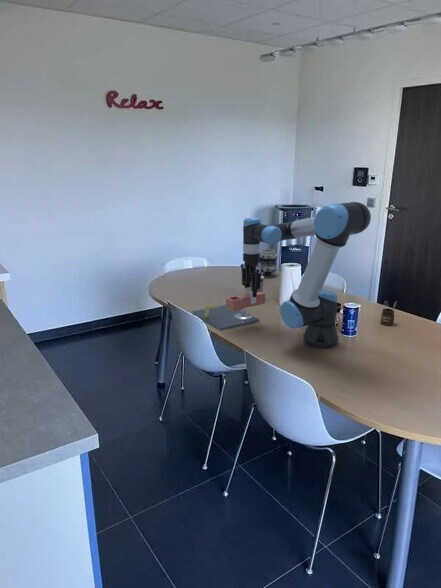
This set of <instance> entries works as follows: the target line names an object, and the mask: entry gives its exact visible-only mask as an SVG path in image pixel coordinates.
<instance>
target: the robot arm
mask: <svg viewBox="0 0 441 588" xmlns="http://www.w3.org/2000/svg"><path fill="white" fill-rule="evenodd" d="M371 219H372V214H371V212H370V209H369V208H368V207H367V205H366V204H364V203H362V202H359V201H351V202H342V203H338V202H336V203H335V202H334V203H330V204H327V205H325V206H323V207H321V208H320V209H319V210H318V211H317V212H316V214H315V216H312V217H307V218H302V219H298V220H293V221H289V222H282V223H273V224H265V223H264V224H263V223H262V222H261V218H259V217H254V216H253V217H252V216H251V217H245V218H244V219H243V227H242V234H243V235H242V237H243V238H242V240H243V241H242V251H243V253H242V261H243V262H244V263H242V264H240V269H241V285H242V286H244V288H245V289H244V295H247V294H251V300H250V304H254V303H256V296H257V290H258V289H260V283H261V275H262V273H263V272H262V269H259V264H258V263H259V262H261V258H260V254H261V253H260V252H261V251H260V250H261V248H260V247H261V243H265V244H268V245H276V244H278V243H279V242H281V241H289V240H295V239H300V238H306V237H311V236H313V237H314V236H315V238H316V242H315V244H314V247H313V250H312V253H311V255H310V257H309V260H308V263H307V264H306V267H305V270H304V273H303V275H302V277H301V279H300V282H299V285H298V287H297V288H296V289H294V290H293V291H292V293H291V295H290V297H289V299H288V300H285V301H284V302H282V303H281V306H280V309H279V312H280V317H281V319H282V321H283V323H284V324H285V325H286V326H287V327H289V328H290V329H301V328H302V327H303V328H304V327H306V328H305V330H304V333H303V335H302V342H303V343H304V344H305V345H306V346H309V347H312V348H315V349H331V348H336V347H337V346H338V345H339V338H340V337H339V336H338V331H337V328H336V327H337V325H336V322H337V313H338V312H337V310H338V309H337V308H338V294H337V293H336V292H334V291H332V290H330V289H329V290H328V289H323V287H324V285H325V282H326V280H327V278H328V276H329V274H330V272H331V268H332V266H333V264H334V262H335V259H336V257H337V254H338V253H339V250H340V248H341V249H342V248H344V247H345V246H346V245H347V243H348V240H349V238H350V236H352V235H353V236H354V235H357V234H360V233H362V232H364V231H365V230H367V228H368V227H369V225H370V224H371ZM250 282H251V285H252V289H251V285H250Z"/></svg>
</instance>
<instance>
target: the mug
mask: <svg viewBox="0 0 441 588" xmlns="http://www.w3.org/2000/svg"><path fill="white" fill-rule="evenodd" d="M264 279H265V278H264V276H261V283H260V289H258V290H257V292H262V293H264V291H263V289H264ZM250 285H251V282H250ZM251 289H252V285H251Z"/></svg>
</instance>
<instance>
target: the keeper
mask: <svg viewBox="0 0 441 588" xmlns="http://www.w3.org/2000/svg"><path fill="white" fill-rule="evenodd" d="M203 305H204V309H205V319H209V309H212V308H219V306H220V305H219V302H217V301H216V302H204V303H203Z"/></svg>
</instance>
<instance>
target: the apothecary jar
mask: <svg viewBox="0 0 441 588" xmlns="http://www.w3.org/2000/svg"><path fill="white" fill-rule="evenodd" d="M276 259H278V254H277V253H276V250H275V249H273V248H264V249H261V253H260V265H258V268H259V269H262V273H263V274H261V276H264V279H274V278H276V275H275V274H273V273H275V272H276V271H277V270H278V267H277V265H276Z"/></svg>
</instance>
